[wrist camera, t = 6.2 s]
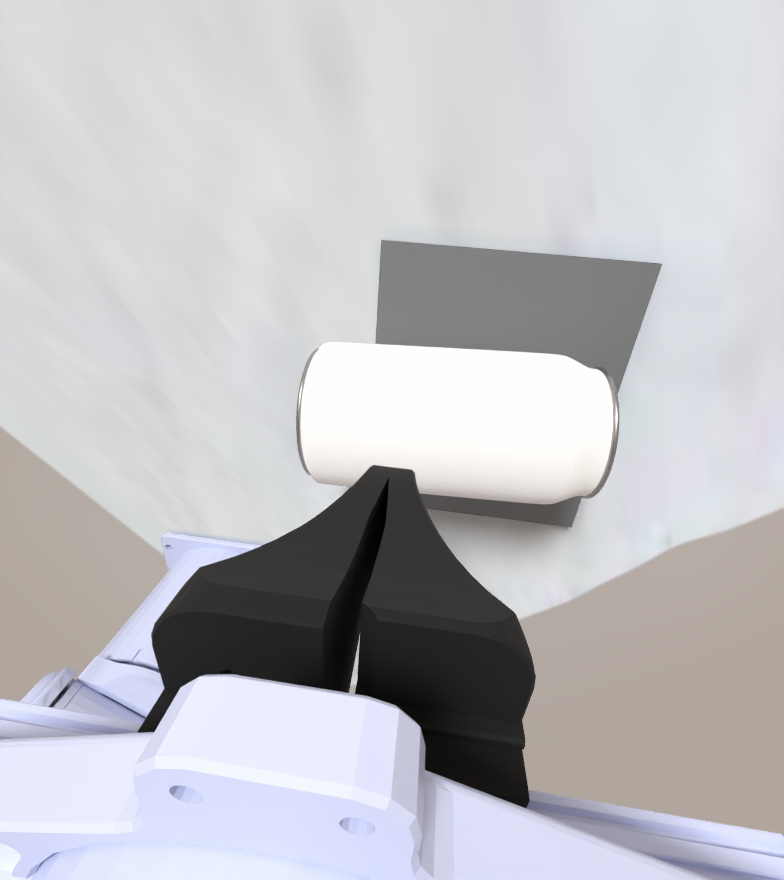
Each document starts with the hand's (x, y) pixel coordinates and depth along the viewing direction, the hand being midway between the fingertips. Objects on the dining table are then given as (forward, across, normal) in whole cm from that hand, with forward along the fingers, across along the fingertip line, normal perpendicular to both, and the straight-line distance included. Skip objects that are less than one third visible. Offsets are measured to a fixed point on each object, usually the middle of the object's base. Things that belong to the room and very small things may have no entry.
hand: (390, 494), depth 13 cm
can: (+6, +4, 0) cm, 8 cm away
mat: (+10, -4, 0) cm, 11 cm away
